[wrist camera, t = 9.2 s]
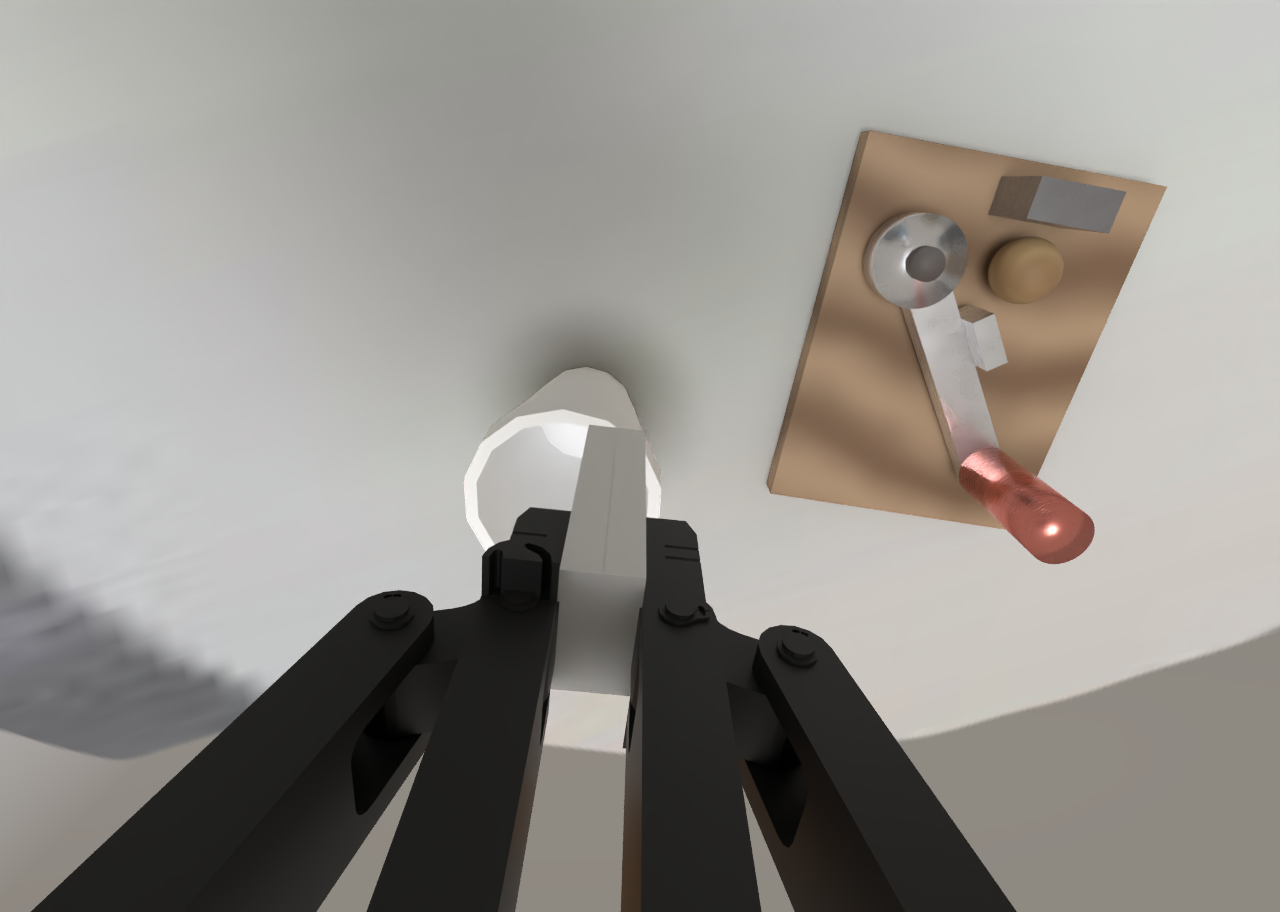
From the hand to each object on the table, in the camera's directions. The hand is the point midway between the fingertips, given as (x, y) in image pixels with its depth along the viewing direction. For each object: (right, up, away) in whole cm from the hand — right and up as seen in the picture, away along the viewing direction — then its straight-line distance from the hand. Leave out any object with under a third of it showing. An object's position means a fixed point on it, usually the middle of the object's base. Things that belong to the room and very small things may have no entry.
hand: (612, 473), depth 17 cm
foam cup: (-3, +3, +25) cm, 26 cm away
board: (+20, +7, +23) cm, 31 cm away
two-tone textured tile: (+23, +15, +19) cm, 33 cm away
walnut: (+22, +11, +18) cm, 31 cm away
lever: (+19, +6, +22) cm, 30 cm away
